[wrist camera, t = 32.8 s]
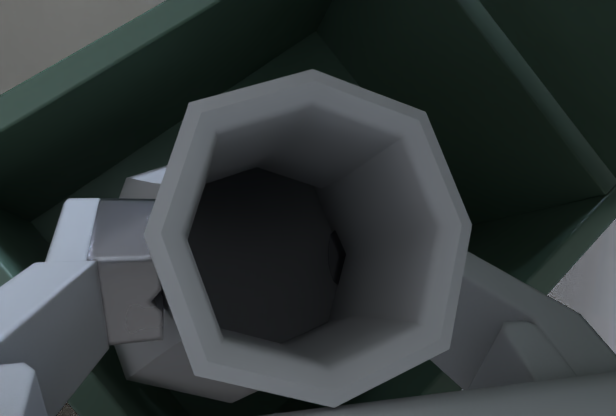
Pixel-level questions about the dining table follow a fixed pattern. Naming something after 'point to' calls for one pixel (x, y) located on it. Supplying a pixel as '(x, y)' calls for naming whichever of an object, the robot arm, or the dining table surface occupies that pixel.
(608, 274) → the dining table surface
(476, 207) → the chest
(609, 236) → the dining table surface
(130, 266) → the robot arm
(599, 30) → the chest lid
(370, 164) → the flask
